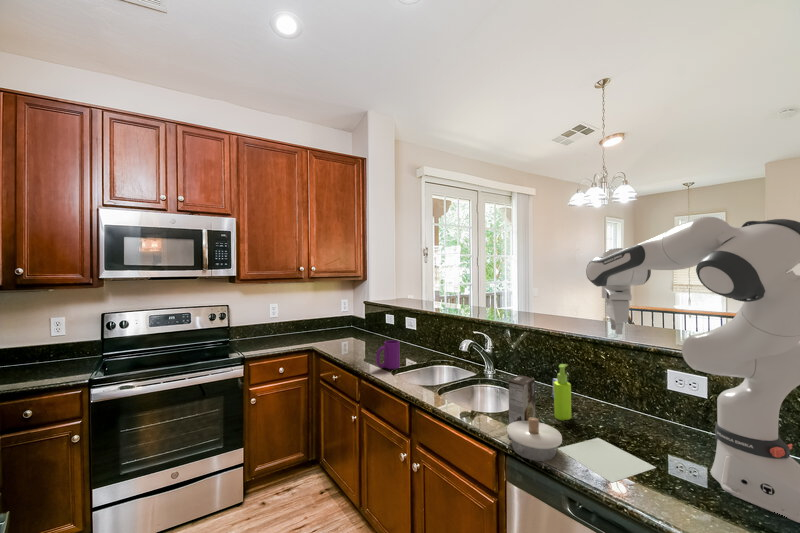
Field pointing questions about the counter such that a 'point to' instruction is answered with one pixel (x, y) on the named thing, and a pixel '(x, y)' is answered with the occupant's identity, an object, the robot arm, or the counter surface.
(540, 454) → the dish
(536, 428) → the lid
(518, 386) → the coffee box
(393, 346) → the mug
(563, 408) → the soap dispenser
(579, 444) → the mat
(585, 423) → the counter surface
